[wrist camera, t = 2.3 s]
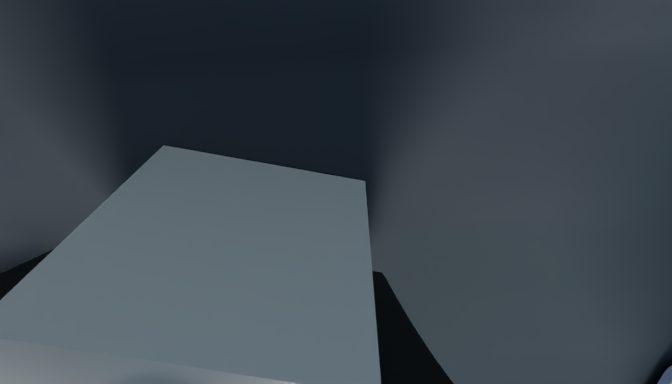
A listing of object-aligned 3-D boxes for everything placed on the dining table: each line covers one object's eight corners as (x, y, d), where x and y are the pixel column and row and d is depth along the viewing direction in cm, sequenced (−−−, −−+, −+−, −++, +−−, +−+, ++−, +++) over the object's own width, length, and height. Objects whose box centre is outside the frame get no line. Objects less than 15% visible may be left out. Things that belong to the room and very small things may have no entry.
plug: (365, 180, 11) (389, 484, 4) (329, 335, 13) (311, 703, 6) (163, 144, 11) (-116, 411, 4) (158, 307, 12) (-42, 662, 6)
